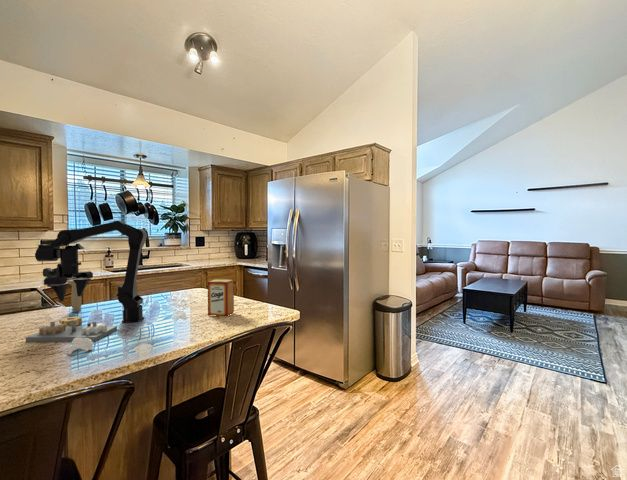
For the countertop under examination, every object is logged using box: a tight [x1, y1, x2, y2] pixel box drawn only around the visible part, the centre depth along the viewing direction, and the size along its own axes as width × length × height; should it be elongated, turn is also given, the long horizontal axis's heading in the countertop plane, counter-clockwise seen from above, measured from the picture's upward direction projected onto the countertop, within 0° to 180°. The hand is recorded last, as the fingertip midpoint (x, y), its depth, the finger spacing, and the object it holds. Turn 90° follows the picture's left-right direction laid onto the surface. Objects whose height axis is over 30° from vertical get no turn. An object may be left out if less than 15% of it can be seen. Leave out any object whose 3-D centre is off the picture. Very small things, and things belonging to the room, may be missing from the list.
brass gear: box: [58, 315, 83, 327], centre depth 125 cm, size 7×7×2 cm
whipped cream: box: [67, 338, 94, 355], centre depth 99 cm, size 8×7×5 cm
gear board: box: [25, 320, 118, 343], centre depth 113 cm, size 24×12×6 cm, turn 91°
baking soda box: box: [207, 279, 235, 317], centre depth 141 cm, size 10×6×16 cm
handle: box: [67, 279, 83, 312], centre depth 147 cm, size 5×6×15 cm
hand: (70, 298), depth 125 cm, fingers open, 9 cm apart
